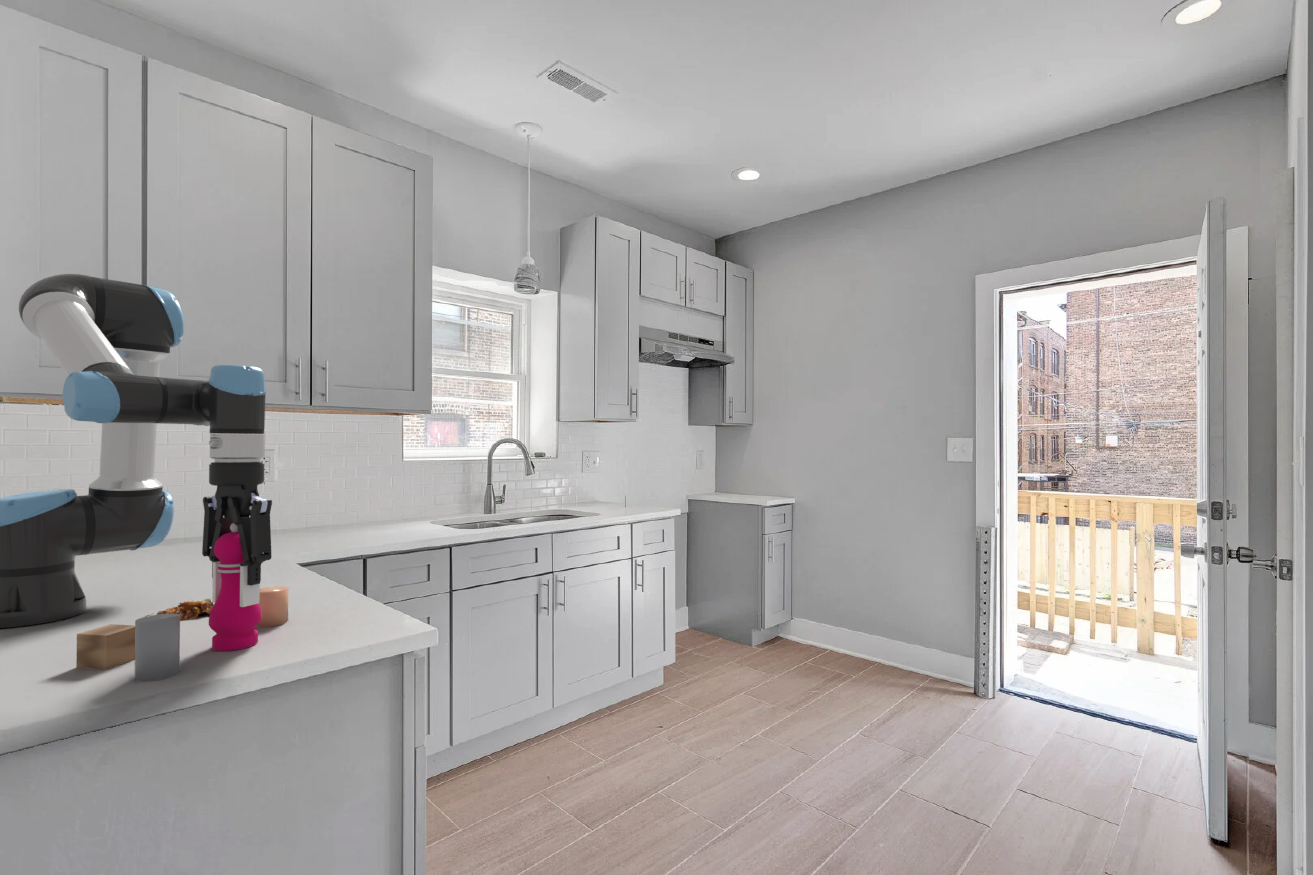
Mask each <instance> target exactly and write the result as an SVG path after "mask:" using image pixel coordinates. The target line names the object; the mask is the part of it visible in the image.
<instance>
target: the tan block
mask: <svg viewBox="0 0 1313 875" xmlns="http://www.w3.org/2000/svg"><path fill="white" fill-rule="evenodd" d="M134 659H135V624H134V625H133V624H132V625H131V624H130V625H129V624H107V625H103V626H100V627H95V628H93V629H89V630H86V631H82V632H79V633H76V660H75V662H76V666H75V667H76V669H90V668H91V670H93V669H94V670H104V671H105V670H109V669H112V668H114V667H117V666H120V664H121V665H123V664H127V663H128V662H132V661H135V660H134Z"/></svg>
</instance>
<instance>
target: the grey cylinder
mask: <svg viewBox="0 0 1313 875" xmlns="http://www.w3.org/2000/svg"><path fill="white" fill-rule="evenodd" d="M134 623H135V624H134V625H135V660H134V680H135V682H153V681H159V680H160V681H161V680H164V679H168V678H172V677H173V676H175V675H178V674H179V673H180V661H181V660H180V658H181V656H180V647H181V645H180V644H181V643H180V642H181V621H180V615H179V614H158V615H151V616H146V617H145V616H143V617H140V618H137V619H136V620H135V622H134Z"/></svg>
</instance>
